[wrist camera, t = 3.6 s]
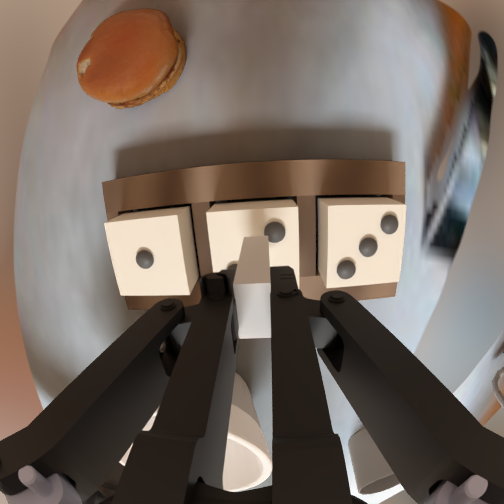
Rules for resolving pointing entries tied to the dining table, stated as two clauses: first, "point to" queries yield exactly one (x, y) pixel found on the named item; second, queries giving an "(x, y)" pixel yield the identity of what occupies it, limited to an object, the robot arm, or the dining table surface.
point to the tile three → (360, 240)
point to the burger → (131, 58)
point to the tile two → (254, 231)
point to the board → (259, 186)
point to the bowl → (239, 443)
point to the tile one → (153, 252)
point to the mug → (502, 399)
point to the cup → (370, 465)
